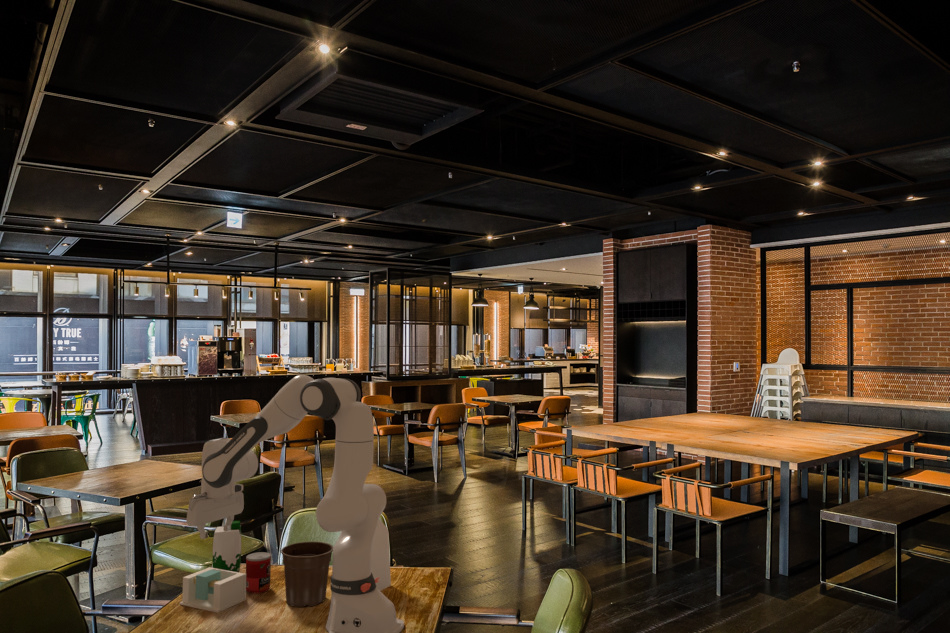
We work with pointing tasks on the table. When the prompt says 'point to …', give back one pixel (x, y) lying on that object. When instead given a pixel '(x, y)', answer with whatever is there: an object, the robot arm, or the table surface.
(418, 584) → the table surface
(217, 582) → the shelf
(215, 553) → the milk carton
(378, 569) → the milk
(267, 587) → the canned food
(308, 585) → the plant pot
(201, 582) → the green slotted block
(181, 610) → the table surface
